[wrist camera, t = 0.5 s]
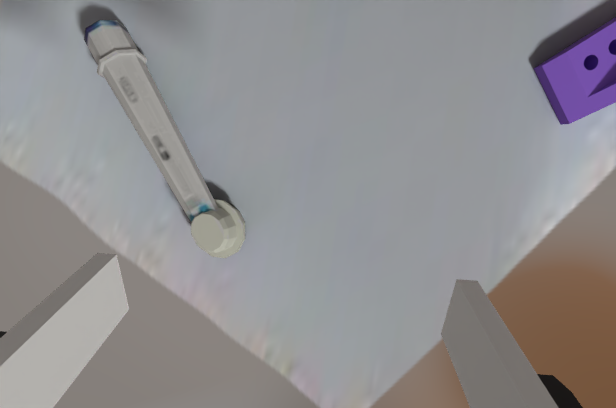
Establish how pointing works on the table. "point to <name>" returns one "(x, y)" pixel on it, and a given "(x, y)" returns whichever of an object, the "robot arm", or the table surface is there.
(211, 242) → the toothbrush head
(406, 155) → the table surface
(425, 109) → the table surface
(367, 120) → the table surface
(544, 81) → the bracket
